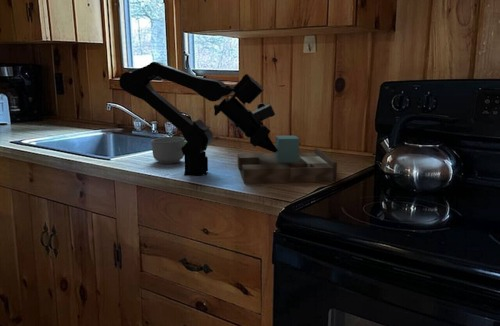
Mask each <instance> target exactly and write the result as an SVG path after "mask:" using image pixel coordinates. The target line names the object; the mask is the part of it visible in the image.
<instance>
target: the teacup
mask: <svg viewBox="0 0 500 326" xmlns="http://www.w3.org/2000/svg"><path fill="white" fill-rule="evenodd" d="M184 142H185V138H184V137H183V136H161V137H157V138H154V139H151V141H150V143H151V150H152V156H153V159H154V160H155V161H157V162H158V163H159V164H161V163H162V165H171V164H177V163H179V162H180V161H181V160H182V159H184V155H183V152H182V150H181V148H182V147H183V146H184Z"/></svg>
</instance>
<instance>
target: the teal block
mask: <svg viewBox="0 0 500 326" xmlns="http://www.w3.org/2000/svg"><path fill="white" fill-rule="evenodd" d="M274 146H275V147H276V149H277V151H276V152H275V159H276V160H277V161H278V163H282V162H299V153H300V138H299V137H298V136H297V135H275V145H274Z"/></svg>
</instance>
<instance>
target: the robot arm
mask: <svg viewBox="0 0 500 326" xmlns="http://www.w3.org/2000/svg"><path fill="white" fill-rule="evenodd" d="M156 78H160V79H163V80H165V81H169V82H171V83H174V84H176V85H179V86H182V87H185V88H187V89H190V90H192V91H194V92H195V93H196V94H198V95H200V97H202V98H204V99H206V100H207V101H209V102H218V101H221V100H222V101H221V102H219V103H218V104H214V105H213V109H214V116H218V114H219V113H222V114H223V115H224V116H225V117H226V118H227V119H228V120H229V121H230V122H232V123H233V125H234V126H235V127H236V128H238V129H239V130H240V131H241V133H243V134H244V136H245V137H246V138H248V142H249V143H250V144H251V145H252V146H253V147H254V148H256V147H260V148H262V149H265V150H268V151H270V152H271V153H275V152H276V151H277V149H276V147H275V146H276V145H275V144H274V143H273V142H272V139H270V138H271V137H269V134H270V132H271V129H269V127H267V126H266V125H265V124H264V123H263V122H262V121H265V120H267V119H268V118H272V117H274V116H275V115H276V113H275V110H274V109H273V106H272V104H270V103H268V104H266V105H265V104H264V103H263V102H261V103H258V104H257V109H255V110H253V111H251V110H250V109H247V108H246V106H244V105H245V104H246V103H247V104H248V105H251V104H252V102H254V101H255V99H257V98H258V97H259V95H261V94H262V93H263V92H264V88H263V87H262V85H260V83H259V82H258V80H255V79H254V78H253V77H251V76H250V75H249V73H246V74H244V75H243V76H242V78H241V79H240V80H239V81H238V82H237V83H236V84H235V85H234V86H233V85H227V84H225V82H224V81H222V80H217V79H212V78H206V77H201V76H200V77H199V76H196V75H194V74H191V73H188V72H185V71H183V70H181V69H178V68H175V67H172V66H169V65H167V64H164V63H163V62H161V61H152V62H150V63H149V64H147V65H145V66H143V67H142V66H141V67H140V68H138V69H136V70H133V71H125V72H122V73H121V75H120V77H119V79H118V80H119V82H118V83H119V87H120V88H121V90H123V91H124V92H126V93H128V94H129V95H131V96H133V97H135V98H138V99H140V100H142V101H144V102H145V103H146V104H148V106H150V107H152V108H153V110H155V111H156V112H157V113H158V114H160V115H161V116H162V117H163V118H164V119H165V120H167V121H168V122H169V123H170V124H172V126H174V127H176V129H178V131H179V132H180V133H181V135H182V137H183V138H184V141H185V142H187V143H186V144H185V145H184V146H183V147H182V148H181V150H182V152H183V155H184V157H183V159H184V174H183V175H185V176H195V175H196V176H200V175H201V176H204V175H205V176H206V175H207V172H208V171H209V163H208V162H209V157H208V155H207V153H206V151H207V149H208V146H209V145H211V144H212V142H213V141H214V135H213V132H212V130H211V127H210V126H209V125H206V124H205V123H204V122H203V120H201V119H197V120H195V121H194V120H192V119H191V118H189V117H187V115H186V114H184V113H183V112H181V111H180V110H179V109H178V108H177V107H175V106H174V105H173V104H172V103H170V102H169V101H168V100H167V99H166V98H164V97H163V95H161V94H160V93H159V92H157V91H156V90H155V88H154V87H153V85H152V84H151V82H152V81H153V80H155V79H156ZM230 95H231V96H230ZM226 96H230V97H229V98H225V97H226ZM206 155H207V156H206Z"/></svg>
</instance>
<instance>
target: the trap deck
mask: <svg viewBox="0 0 500 326" xmlns="http://www.w3.org/2000/svg"><path fill="white" fill-rule="evenodd" d="M313 150H314V152H299V162H282V163H278V161H277V160H276V159H275V153H274V152H271V153H237V169H238V171H239V174H240V176H241V179H242V182H243V184H244V185H245V184H247V185H248V184H251V185H252V184H285V183H286V184H287V183H289V184H290V183H291V184H292V183H293V184H294V183H324V182H325V183H326V182H327V183H328V182H337V169H338V162H337V161H336V160H335V159H333V158H332V157H331V156H329V155H328V154H326V153H325V152H323V151H322V150H321V149H320V148H318V147H315V148H314V149H313Z"/></svg>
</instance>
